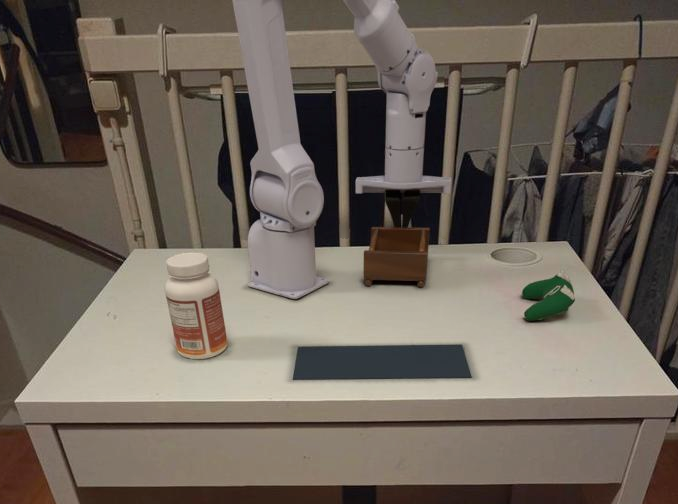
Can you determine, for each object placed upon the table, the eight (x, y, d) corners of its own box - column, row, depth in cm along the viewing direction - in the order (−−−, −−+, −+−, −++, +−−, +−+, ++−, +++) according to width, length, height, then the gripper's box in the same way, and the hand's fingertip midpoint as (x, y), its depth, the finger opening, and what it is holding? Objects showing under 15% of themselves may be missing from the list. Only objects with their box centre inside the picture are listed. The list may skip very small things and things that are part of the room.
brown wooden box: (371, 259, 100) (371, 226, 97) (427, 260, 99) (429, 227, 96) (363, 286, 91) (363, 252, 88) (425, 288, 90) (427, 253, 86)
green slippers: (539, 337, 80) (581, 307, 77) (521, 316, 79) (563, 285, 76) (535, 308, 87) (574, 280, 84) (519, 288, 86) (557, 259, 83)
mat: (292, 379, 70) (292, 378, 70) (297, 347, 76) (297, 346, 76) (471, 377, 69) (471, 376, 69) (462, 345, 75) (462, 344, 75)
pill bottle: (219, 334, 80) (205, 246, 73) (234, 353, 75) (222, 262, 68) (171, 344, 78) (153, 255, 71) (184, 365, 73) (166, 272, 66)
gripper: (454, 141, 94) (446, 233, 102) (359, 141, 96) (359, 232, 104) (454, 150, 89) (446, 247, 97) (353, 150, 90) (354, 245, 99)
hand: (400, 240), depth 100 cm, fingers closed
